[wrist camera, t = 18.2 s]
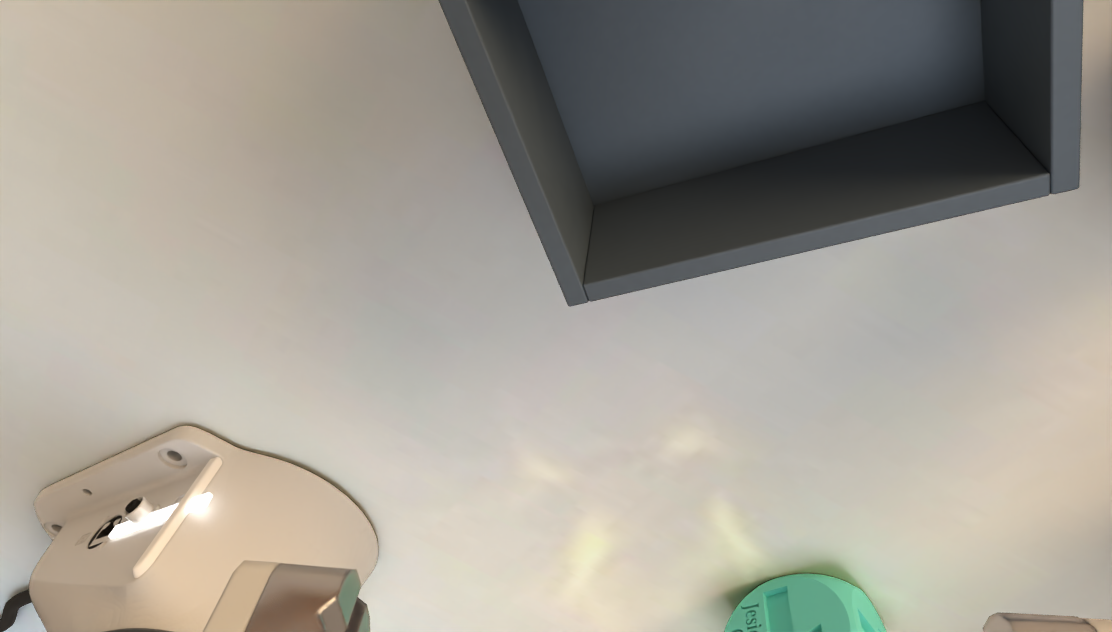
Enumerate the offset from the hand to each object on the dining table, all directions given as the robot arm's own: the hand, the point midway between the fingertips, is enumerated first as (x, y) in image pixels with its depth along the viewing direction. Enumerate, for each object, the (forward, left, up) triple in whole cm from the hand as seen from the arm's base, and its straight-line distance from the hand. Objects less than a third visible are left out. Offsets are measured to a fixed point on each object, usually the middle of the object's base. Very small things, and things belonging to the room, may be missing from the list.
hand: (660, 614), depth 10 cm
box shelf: (+3, 0, -24) cm, 24 cm away
